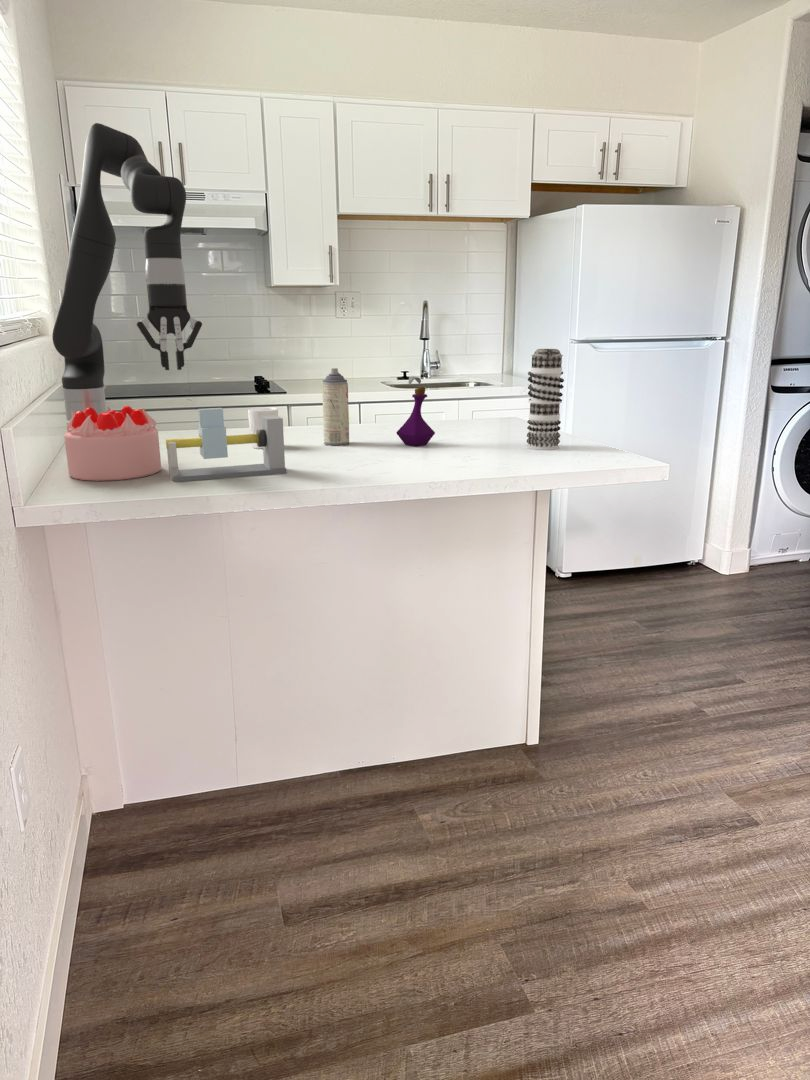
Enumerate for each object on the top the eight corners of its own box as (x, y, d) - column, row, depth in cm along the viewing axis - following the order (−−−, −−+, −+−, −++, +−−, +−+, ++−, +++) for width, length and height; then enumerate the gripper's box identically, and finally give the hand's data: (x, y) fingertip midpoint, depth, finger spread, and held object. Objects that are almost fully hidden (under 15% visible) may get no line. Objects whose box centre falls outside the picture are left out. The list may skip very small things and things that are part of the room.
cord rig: (171, 482, 167) (166, 425, 164) (167, 475, 174) (162, 420, 171) (286, 473, 176) (283, 418, 173) (278, 466, 183) (275, 414, 180)
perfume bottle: (416, 441, 217) (416, 374, 212) (435, 444, 212) (435, 376, 207) (395, 444, 212) (395, 376, 207) (415, 448, 207) (415, 378, 202)
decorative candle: (523, 444, 211) (526, 348, 204) (558, 444, 211) (562, 348, 204) (526, 450, 203) (530, 350, 196) (563, 450, 202) (568, 349, 195)
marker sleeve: (204, 459, 169) (200, 411, 166) (200, 454, 175) (196, 407, 172) (227, 457, 171) (224, 409, 168) (223, 452, 177) (219, 406, 174)
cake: (59, 471, 180) (51, 408, 176) (146, 461, 191) (141, 402, 187) (82, 485, 165) (74, 417, 161) (175, 474, 176) (170, 409, 172)
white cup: (244, 448, 208) (242, 410, 205) (258, 443, 215) (256, 406, 212) (271, 450, 205) (269, 411, 203) (284, 445, 213) (283, 407, 210)
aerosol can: (353, 444, 213) (351, 368, 207) (329, 446, 210) (327, 369, 204) (343, 441, 218) (341, 367, 213) (320, 443, 215) (317, 368, 210)
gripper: (131, 281, 155) (140, 372, 160) (203, 282, 160) (209, 369, 164) (129, 283, 161) (137, 369, 166) (198, 283, 166) (204, 367, 171)
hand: (173, 369), depth 165 cm, fingers closed
